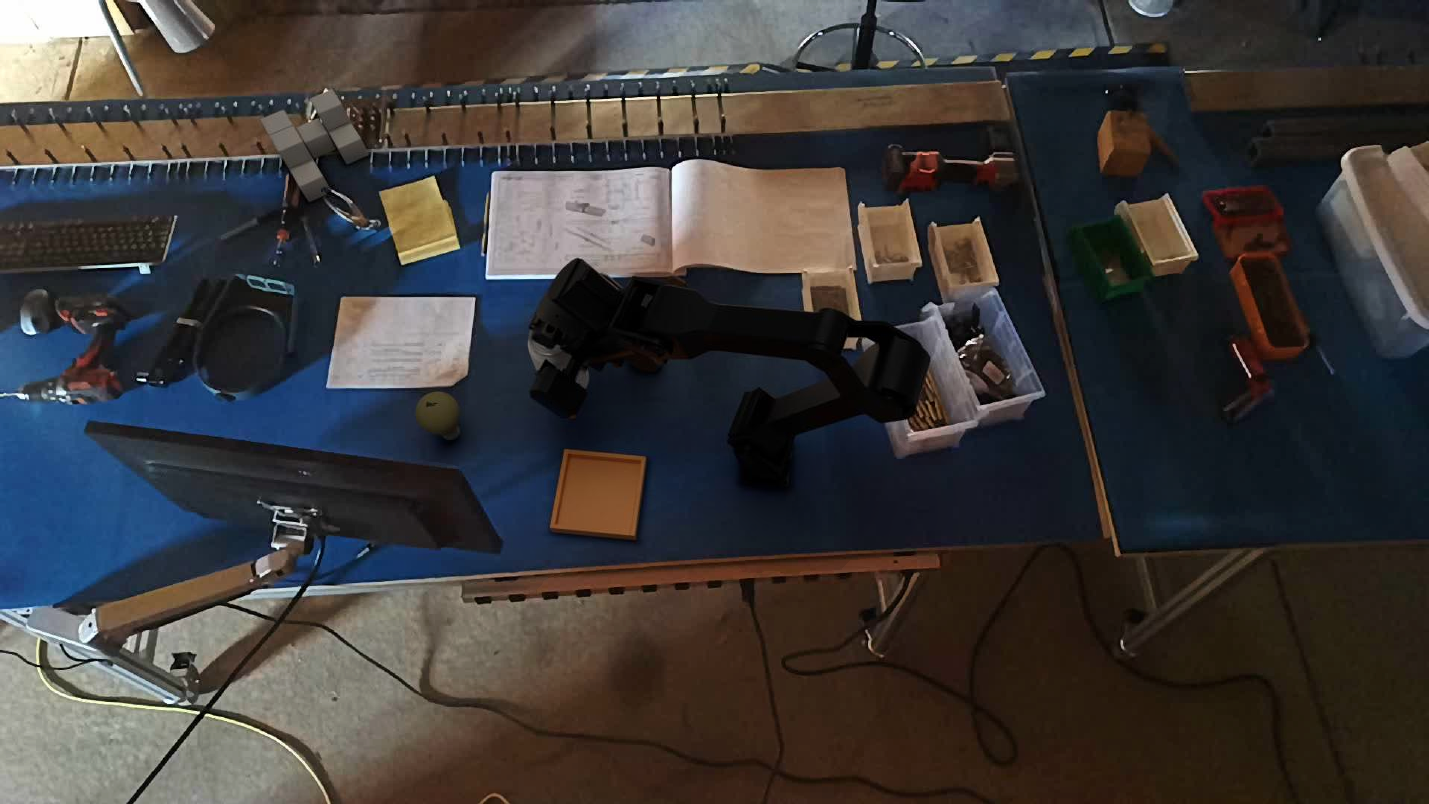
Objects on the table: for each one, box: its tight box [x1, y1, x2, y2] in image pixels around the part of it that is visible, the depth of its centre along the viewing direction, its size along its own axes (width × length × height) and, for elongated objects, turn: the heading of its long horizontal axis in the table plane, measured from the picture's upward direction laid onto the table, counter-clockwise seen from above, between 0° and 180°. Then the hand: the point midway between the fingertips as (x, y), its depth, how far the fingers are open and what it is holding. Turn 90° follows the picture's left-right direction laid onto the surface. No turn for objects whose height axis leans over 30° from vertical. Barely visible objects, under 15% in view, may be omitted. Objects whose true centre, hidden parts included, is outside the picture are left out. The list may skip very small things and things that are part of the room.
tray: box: [549, 448, 648, 541], centre depth 115 cm, size 11×11×2 cm
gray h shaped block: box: [260, 89, 369, 203], centre depth 137 cm, size 12×12×8 cm
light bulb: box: [414, 391, 461, 441], centre depth 115 cm, size 6×6×10 cm
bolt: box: [625, 275, 688, 372], centre depth 125 cm, size 6×5×15 cm
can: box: [527, 329, 590, 390], centre depth 113 cm, size 6×6×12 cm
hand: (548, 353), depth 112 cm, fingers closed on can, 6 cm apart
